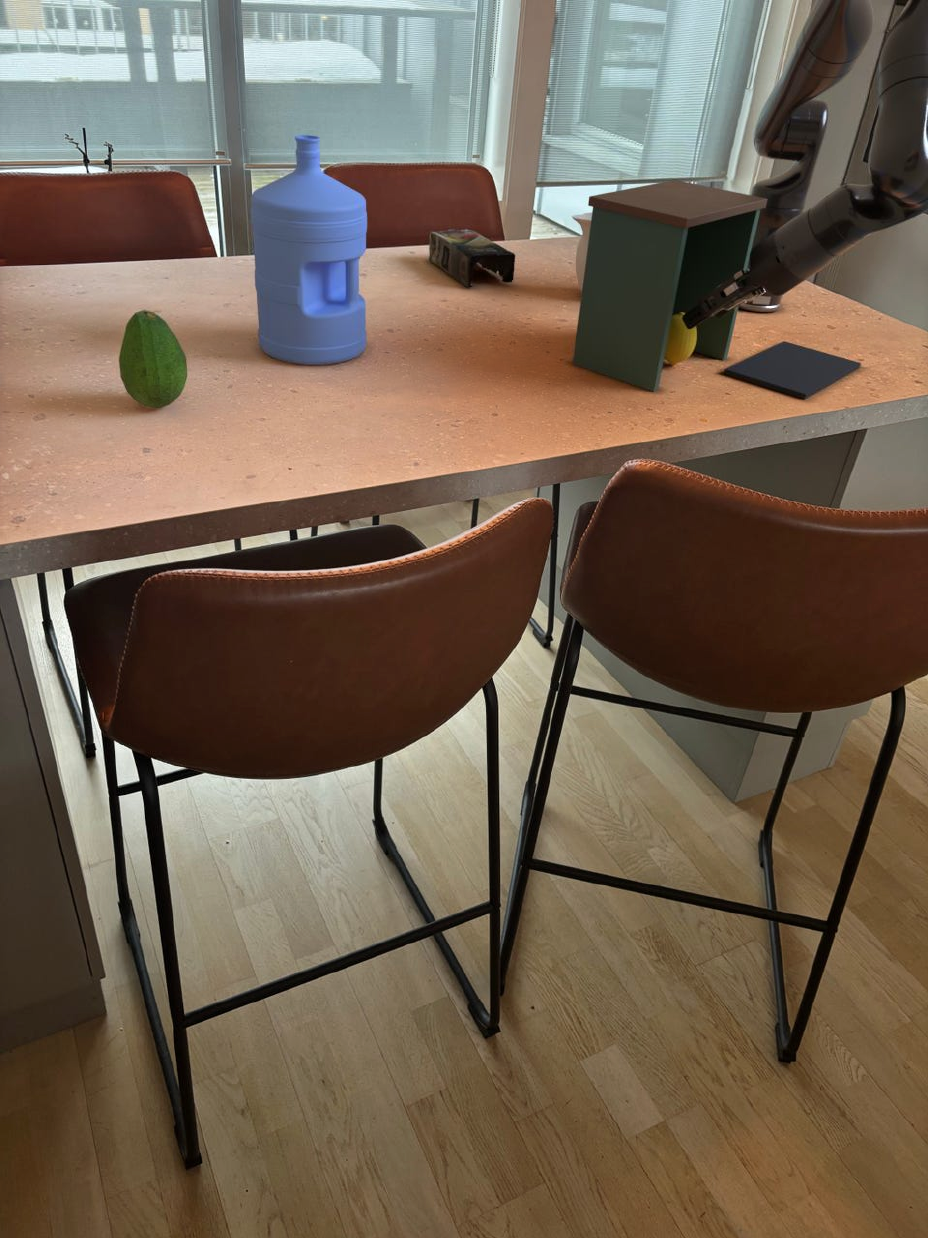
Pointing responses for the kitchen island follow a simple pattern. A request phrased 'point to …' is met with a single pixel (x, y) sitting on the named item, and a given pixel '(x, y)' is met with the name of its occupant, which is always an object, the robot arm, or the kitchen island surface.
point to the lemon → (679, 340)
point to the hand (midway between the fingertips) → (700, 317)
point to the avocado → (152, 361)
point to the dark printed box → (469, 255)
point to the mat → (793, 369)
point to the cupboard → (658, 273)
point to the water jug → (309, 264)
